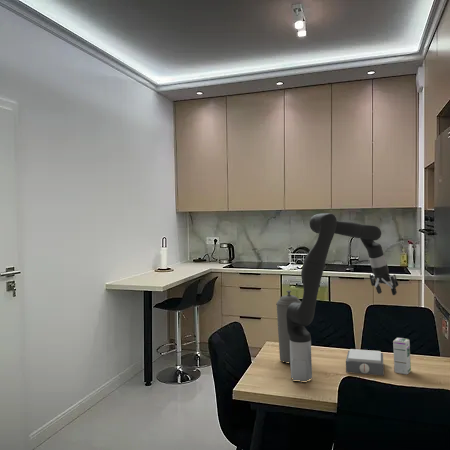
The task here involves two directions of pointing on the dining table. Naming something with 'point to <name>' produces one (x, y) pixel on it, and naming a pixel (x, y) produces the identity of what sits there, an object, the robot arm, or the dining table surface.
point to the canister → (284, 325)
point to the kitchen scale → (365, 362)
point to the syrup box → (402, 355)
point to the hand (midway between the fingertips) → (387, 293)
